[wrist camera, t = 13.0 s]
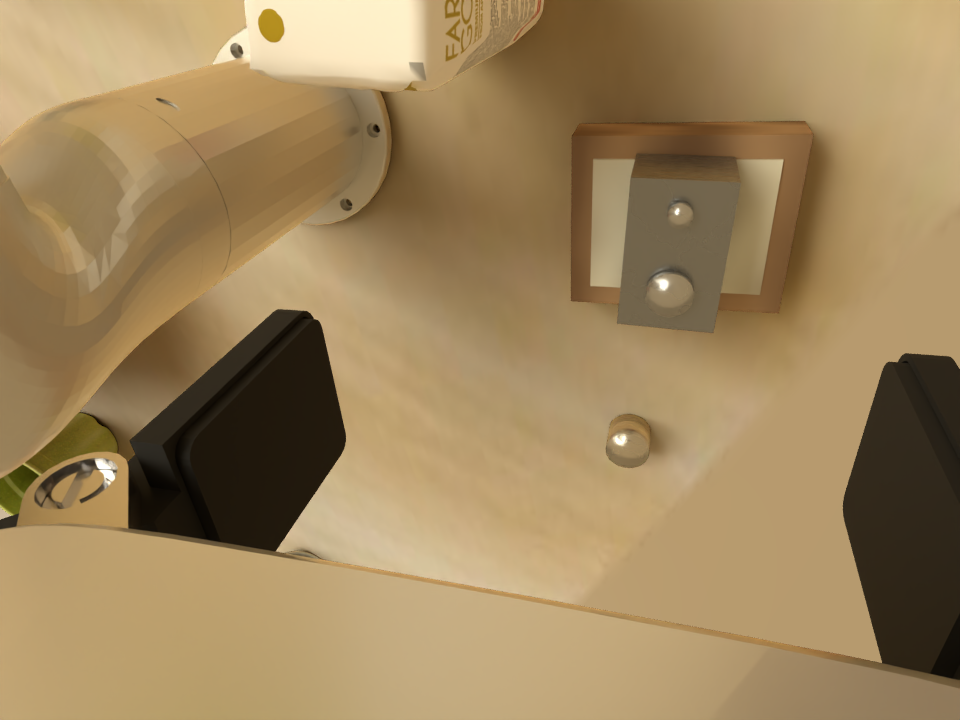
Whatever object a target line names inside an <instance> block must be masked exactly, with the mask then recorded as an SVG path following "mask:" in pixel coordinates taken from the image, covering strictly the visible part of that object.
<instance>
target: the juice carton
mask: <svg viewBox="0 0 960 720" xmlns="http://www.w3.org/2000/svg"><path fill="white" fill-rule="evenodd" d="M244 1H245V14H246V22H247V30H248V38H249V46H250V69H252V70H254V71H255V72H257V73H259V74H261V75H263V76H269V77H270V78H272V79H275V80H277V81H280V82H284V83H293V84H302V85H311V86H324V87H338V88H352V89H358V90H369V89H374V90H380V91H385V92H400V91H403V90H413V91H433V90H435V89H436V88H438V87H440V86H442V85H443V84H445V83H447V82H449V81H450V80H452V79H454V78H456V77H457V76H459V75H461V74H462V73H464V72H466V71H468V70H469V69H471V68H473V67H474V66H476V65H478V64H480V63H481V62H483V61H485V60H486V59H488V58H490V57H492V56H493V55H495V54H497V53H498V52H500V51H502V50H504V49H505V48H507V47H509V46H510V45H512V44H513V43H515V42H516V41H517V40H518V39H519V38H520V37H522V36H523V35H524V34H525V33H526V32H527V31H528V30H529V29H530V28H532V27H533V26H534V25H535V24H536V23H537V21H538V20H539V19H540V16H541V14H542V12H543V5H544V0H244Z"/></svg>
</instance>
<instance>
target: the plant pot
mask: <svg viewBox="0 0 960 720" xmlns="http://www.w3.org/2000/svg"><path fill="white" fill-rule="evenodd" d="M117 451H118V446H117V442H116V440H115V438H114V436H113V434H112V433H111V432H110V430H109V429H108V428H106V427H103V426H101V425H100V424H98V423H97V422H96V420H95V418H93V417H91V416H89V415H87V414H83V413H78V414H77V415H76V416H75V417H74V418H73V419H72V420H71V421H70V422H69V424H68V425H67V426H66V427H65V428H64V429H63V430H62V431H61V432H60V433H59V434H58V435H57V436H56V437H55V438H54V439H53V440H52V441H50V442H49V443H48V444H47V445H46V446H45V447H43V448H42V449H41V450H40V451H39V452H37V453H36V454H35V455H34V456H33V457H31V458H30V459H29V460H27V461H26V462H25V463H24V464H22V465H21V466H20V467H18V468H17V469H15V470H13V471H12V472H10V473H9V474H7V475H5V476H4V477H2V478H1V479H0V507H1V508H2V509H3V510H5V512H7V513H8V514H10V515H11V516H12V515H15V514H18V513H19V512H20V508H21V503H22V499H23V496H24V494H25V492H26V490H27V488H28V487H29V486H30V485H31V484H32V483H33V482H34V481H35V479H36V478H38V477H39V476H40V475H42V474H43V473H44V472H46V471H47V470H48V469H50V468H52V467H54V466H56V465H58V464H60V463H61V462H63V461H66V460H68V459H71V458H74V457H77V456H79V455H84V454H88V453H93V452H112V453H116V454H117Z"/></svg>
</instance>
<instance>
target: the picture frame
mask: <svg viewBox="0 0 960 720" xmlns="http://www.w3.org/2000/svg"><path fill="white" fill-rule="evenodd" d="M812 140H813V133H812V132H811V130H810V128H809V127H808V125H807V124H806V122H805V121H778V122H688V123H598V124H579V125H578V127H577V129H576V130H575V132H574V134H573V135H572V208H571V301H578V302H595V303H612V304H619V298H620V287H621V276H622V265H623V254H624V243H625V233H626V222H627V211H628V200H629V189H630V178H631V174H632V170H633V166H634V162H635V158H636V154H637V153H646V154H672V155H699V156H725V157H736V161H737V165H738V170H739V175H740V180H741V186H740V191H739V197H738V202H737V208H736V213H735V219H734V224H733V229H732V235H731V240H730V246H729V251H728V257H727V262H726V267H725V273H724V278H723V284H722V289H721V295H720V300H719V305H718V310H730V311H747V312H764V313H779V309H780V304H781V299H782V294H783V289H784V284H785V278H786V273H787V268H788V263H789V258H790V253H791V248H792V243H793V238H794V232H795V227H796V222H797V217H798V212H799V207H800V202H801V197H802V191H803V186H804V181H805V176H806V171H807V166H808V161H809V156H810V150H811V145H812Z"/></svg>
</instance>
